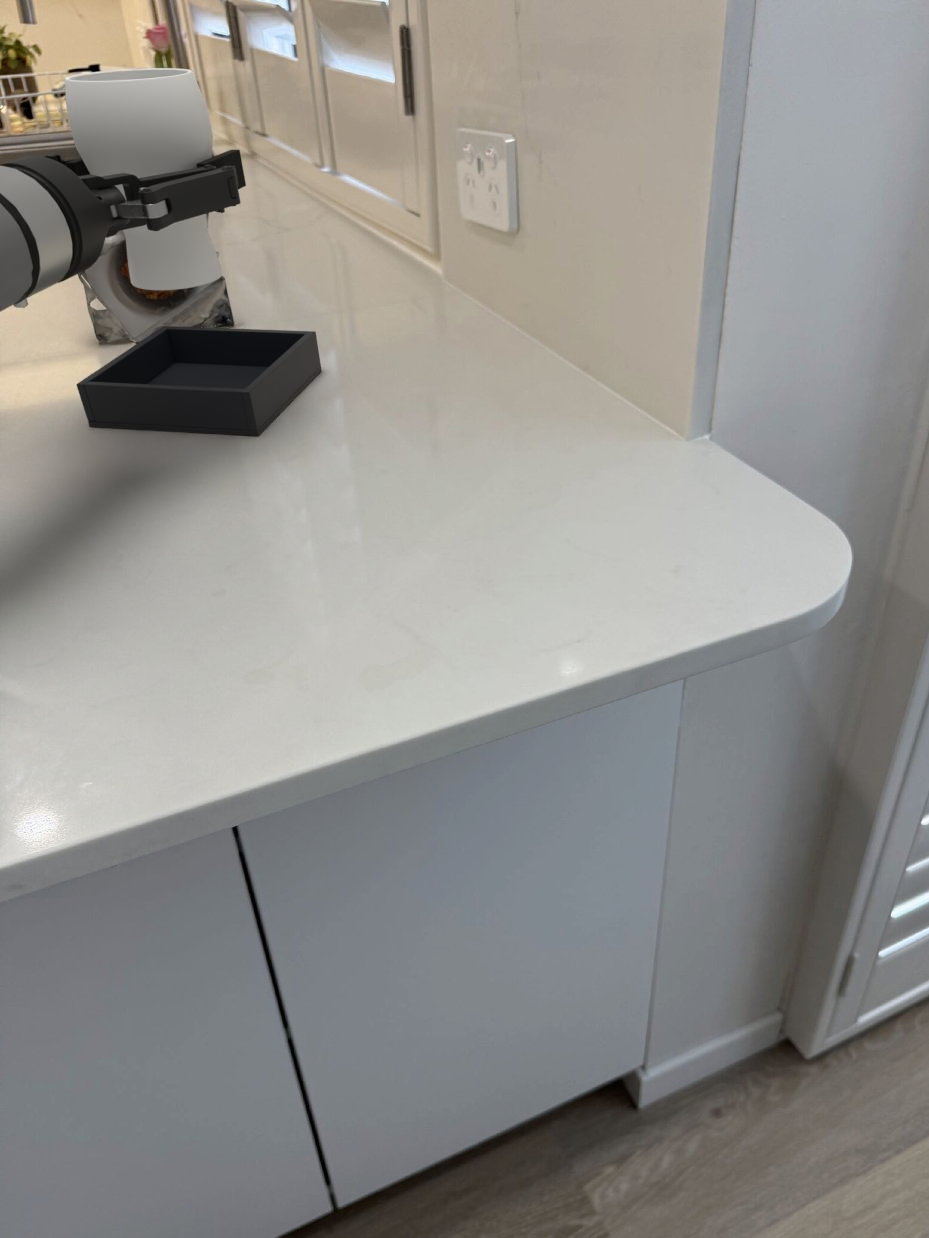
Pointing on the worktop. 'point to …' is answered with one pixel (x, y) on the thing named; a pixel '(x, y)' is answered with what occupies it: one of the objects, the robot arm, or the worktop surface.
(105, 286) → the meal
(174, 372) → the tray
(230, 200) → the robot arm
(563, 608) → the worktop surface
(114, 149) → the cup
